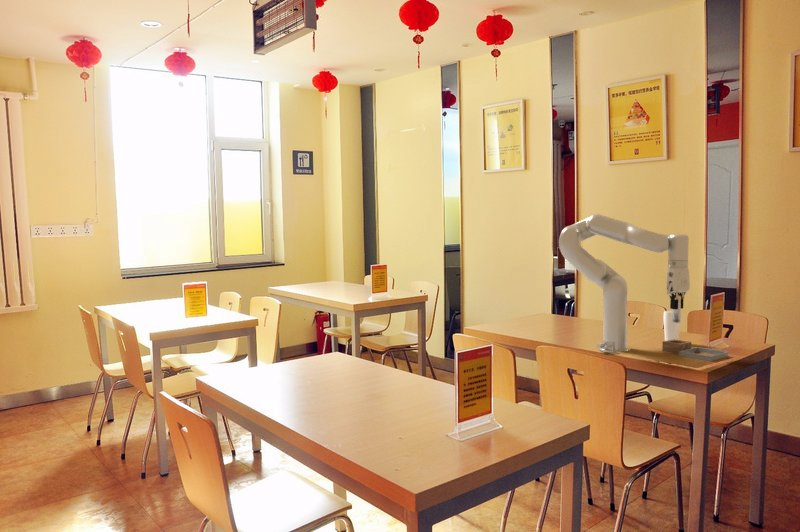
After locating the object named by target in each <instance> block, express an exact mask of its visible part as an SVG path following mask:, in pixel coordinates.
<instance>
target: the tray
mask: <svg viewBox="0 0 800 532" xmlns="http://www.w3.org/2000/svg"><path fill="white" fill-rule="evenodd" d="M697 352H698V353H697ZM699 353H700V354H699ZM701 353H703V354H701ZM704 354H705V355H704ZM706 354H710V355H706ZM678 356H679V357H685V358H690V359H696V360H700V361H701V360H702V361H707V362H713V361H718V360H720V359H724V358H727V357H729V351H725V350H724V351H723V350H720V349H718V350H717V349H711V348H706V347H698V346H695V347H691V348H690V349H686V350H682V351H679V354H678Z"/></svg>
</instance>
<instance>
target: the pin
mask: <svg viewBox="0 0 800 532" xmlns="http://www.w3.org/2000/svg"><path fill="white" fill-rule="evenodd" d="M677 300H678V309H672V311H673V320H672V322H676V323H679V322H680V323H681V315H682V313H681V312H682V311H681V310H682V309H681V296H680V295H679V294H678V298H677Z"/></svg>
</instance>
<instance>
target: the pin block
mask: <svg viewBox="0 0 800 532" xmlns="http://www.w3.org/2000/svg"><path fill="white" fill-rule="evenodd" d="M661 346H662V348H661V349H662V352H665V353H670V354H675V355H676V354H677V355H679V351H682V350H686V349H690V348H692V341H686V340H681V339H678V340H675V339H672V340H668V341H665V340H664V341H662V345H661Z"/></svg>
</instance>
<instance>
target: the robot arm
mask: <svg viewBox="0 0 800 532" xmlns="http://www.w3.org/2000/svg"><path fill="white" fill-rule="evenodd" d="M595 236H600V237H604V238H607V239H610V240H614V241H616V242H620V243H623V244H626V245H632V246H634V247H636V248H637V247H638V248H640V249H645V250H648V251H650V252H655V253H664V252H665V251H666V252H667V251H668V252H667V253H668V254H667V255H668V256H667V257H668V259H667V268H668V269H667V274H666V286H665V287H666V294H667V295H668V296H669V300H670V301H669V302H670V304H669V307H670V308H669V309H671V310H673V309H678V300H677V298H678V294H679V295H680V296H681V310H682V309H684V299H685V295H686V294H687V292H688V291H690V287H691V286H690V271H689V241H690V239H689V235H687V234H684V233H682V234H681V233H678V234H676V233H675V234H674V233H673V234H665V233H659V232H655V231H651V230H648V229H644V228H641V227H638V226H636V225H634V224H632V223H629V222H626V221H622V220H619V219H615V218H612V217H610V216H606V215H602V214H599V213H594V214H591V215H590V216H588V217H587V218H585V219H582V220H580V221H578V222H575V223H573V224H571V225H567V226H565V227H564V228H563V229H562V230H561V232H560V235H559V238H558V248H559V251H560V253H561V255H562V257H563V258H564V259H565V260H566V261H567V262H568V263H569V264H570V265H572V267H574V268H575V269H576V270H577V271H578V272H579V273H581V274H582V275H583V277H585V278H586V279H587V280H588V281H590V282H593V283H595V284H596V285H597V286H598V287H599V288H601V290H602V296H603V297H602V299H603V300H602V301H603V306H602V309H603V311H602V313H603V314H602V315H603V317H602V319H603V321H602V324H603V326H602V327H603V329H602V333H603V334H602V335H603V336H602V341H601V343H598V344H596V348H597V349H599V351H601V352H603V353H608V354H609V353H610V354H618V353H620V352H622V353H623V352H628V351H631V348H630V347H629V346H627V344H628V343H627V342H628V341H627V340H628V339H627V338H628V337H627V336H628V331H627V329H628V327H627V326H628V325H627V324H628V314H627V313H628V311H627V310H628V284H627V281H626V280H625V278H624V277H623V275H622V276H621V275H620V274H619V273H618V272H617V271H615V269H613V268H612V267H611V266H610V265H608V263H606V262H604V261H603V260H601V259H598V258H595V257H594V256H593V255H592V254H590V253H589V251H588V250H586V249H584V248H583V247H582V246H581V244H580V243H581V242H583V241H585V240H587V239H590V238H592V237H595Z"/></svg>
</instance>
